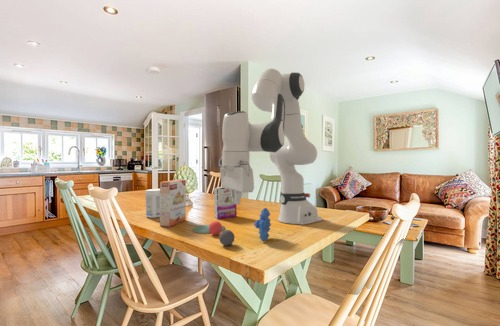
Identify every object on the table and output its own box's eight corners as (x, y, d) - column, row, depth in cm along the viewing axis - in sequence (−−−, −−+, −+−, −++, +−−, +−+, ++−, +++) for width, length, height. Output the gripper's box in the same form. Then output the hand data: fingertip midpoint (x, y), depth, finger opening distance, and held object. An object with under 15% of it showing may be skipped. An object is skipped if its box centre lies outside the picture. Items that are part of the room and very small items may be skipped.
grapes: (256, 234, 103) (256, 205, 103) (273, 235, 101) (272, 206, 101) (250, 244, 91) (250, 211, 91) (269, 245, 90) (268, 212, 90)
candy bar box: (232, 215, 139) (232, 185, 139) (236, 216, 135) (236, 186, 134) (213, 217, 134) (213, 186, 133) (217, 219, 129) (217, 187, 129)
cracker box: (170, 227, 114) (170, 181, 114) (159, 226, 116) (158, 181, 116) (186, 220, 128) (186, 179, 127) (176, 219, 129) (175, 179, 129)
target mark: (219, 223, 121) (219, 223, 121) (229, 231, 108) (229, 230, 108) (190, 226, 115) (190, 226, 115) (197, 235, 102) (197, 234, 102)
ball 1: (219, 232, 106) (219, 219, 106) (224, 235, 101) (223, 222, 101) (207, 233, 104) (207, 220, 104) (210, 237, 99) (210, 223, 99)
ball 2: (231, 241, 94) (231, 227, 94) (236, 246, 89) (236, 231, 89) (217, 244, 91) (217, 229, 91) (222, 248, 86) (221, 233, 86)
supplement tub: (164, 213, 143) (164, 188, 143) (164, 217, 134) (164, 190, 134) (146, 215, 140) (145, 189, 140) (145, 219, 131) (145, 191, 131)
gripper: (259, 160, 73) (259, 208, 73) (233, 160, 91) (234, 198, 92) (239, 161, 70) (239, 210, 70) (217, 160, 89) (217, 199, 89)
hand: (236, 203), depth 81 cm, fingers closed
